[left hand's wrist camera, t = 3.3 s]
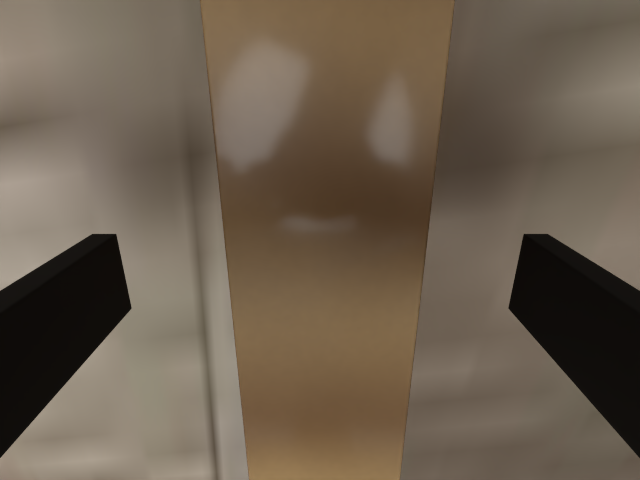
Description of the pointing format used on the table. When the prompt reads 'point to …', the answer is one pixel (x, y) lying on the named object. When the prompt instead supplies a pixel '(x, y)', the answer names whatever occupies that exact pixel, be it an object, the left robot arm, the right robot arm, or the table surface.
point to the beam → (326, 219)
